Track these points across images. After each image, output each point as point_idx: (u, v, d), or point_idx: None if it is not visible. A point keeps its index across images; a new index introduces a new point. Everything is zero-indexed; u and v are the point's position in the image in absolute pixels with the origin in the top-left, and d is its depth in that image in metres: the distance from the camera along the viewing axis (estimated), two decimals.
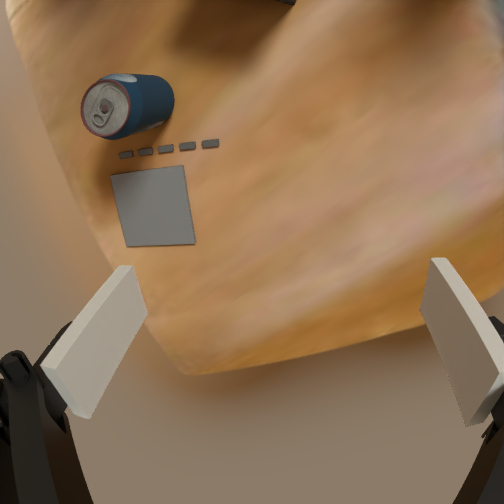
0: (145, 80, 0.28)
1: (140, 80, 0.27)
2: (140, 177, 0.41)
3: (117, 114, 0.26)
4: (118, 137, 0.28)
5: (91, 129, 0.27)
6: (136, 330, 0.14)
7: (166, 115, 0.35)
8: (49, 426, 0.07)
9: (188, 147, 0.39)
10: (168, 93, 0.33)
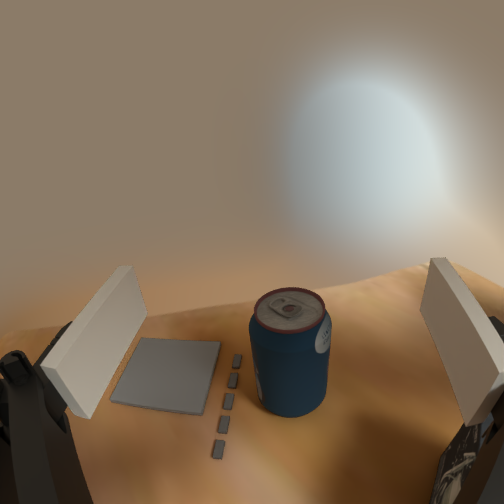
0: (316, 369, 0.25)
1: (316, 359, 0.24)
2: (205, 369, 0.35)
3: (277, 320, 0.25)
4: (250, 323, 0.26)
5: (269, 295, 0.28)
6: (136, 330, 0.14)
7: (268, 402, 0.28)
8: (49, 426, 0.07)
9: (221, 424, 0.28)
10: (295, 405, 0.27)
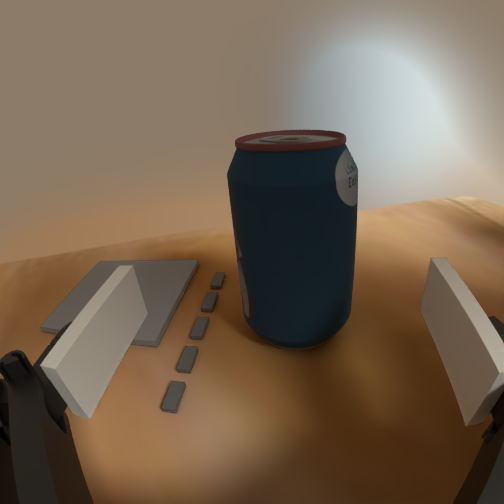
0: (339, 238, 0.15)
1: (339, 214, 0.15)
2: (172, 289, 0.25)
3: None
4: None
5: (260, 137, 0.18)
6: (136, 330, 0.14)
7: (258, 315, 0.18)
8: (49, 426, 0.07)
9: (182, 358, 0.19)
10: (304, 316, 0.17)
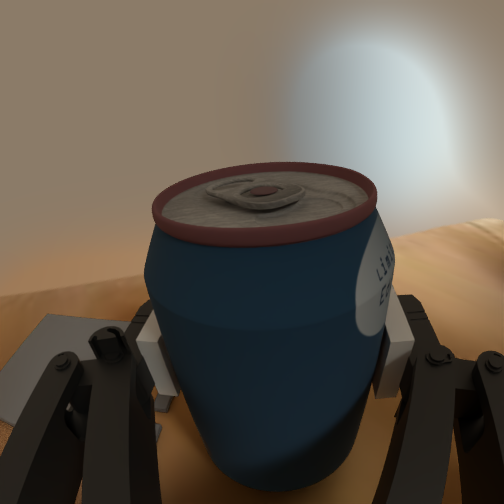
0: (350, 389, 0.08)
1: (355, 358, 0.07)
2: None
3: (219, 216, 0.07)
4: None
5: (213, 178, 0.10)
6: None
7: (217, 459, 0.10)
8: (136, 413, 0.08)
9: None
10: (284, 475, 0.09)
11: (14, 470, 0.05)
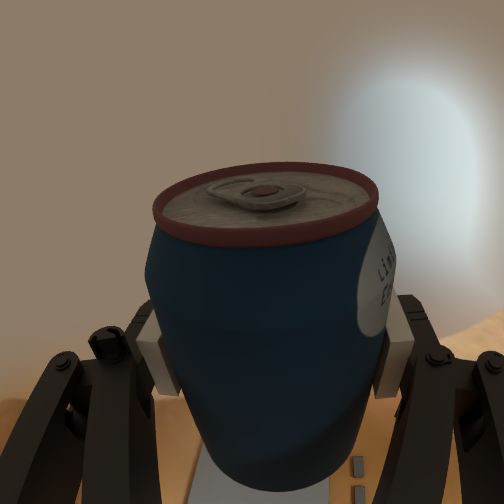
0: (351, 390, 0.08)
1: (356, 359, 0.07)
2: (319, 486, 0.20)
3: (220, 216, 0.07)
4: None
5: (214, 178, 0.10)
6: None
7: (218, 460, 0.10)
8: (136, 413, 0.08)
9: None
10: (285, 475, 0.09)
11: (14, 470, 0.05)
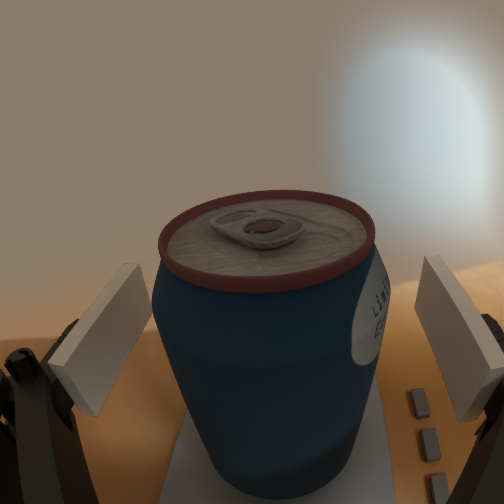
0: (346, 411, 0.08)
1: (351, 385, 0.07)
2: (371, 432, 0.14)
3: (223, 255, 0.08)
4: None
5: (216, 207, 0.11)
6: (142, 328, 0.14)
7: (221, 470, 0.11)
8: (56, 424, 0.07)
9: None
10: (285, 485, 0.09)
11: None
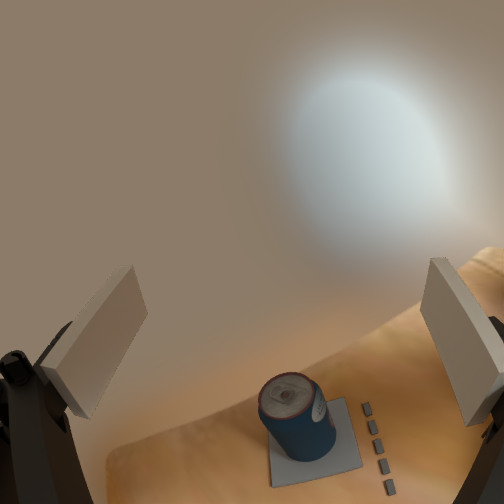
0: (320, 430, 0.29)
1: (317, 425, 0.28)
2: (345, 427, 0.35)
3: (278, 408, 0.29)
4: (259, 411, 0.30)
5: (267, 385, 0.32)
6: (136, 330, 0.14)
7: (291, 456, 0.32)
8: (49, 426, 0.07)
9: (383, 467, 0.28)
10: (313, 454, 0.30)
11: None
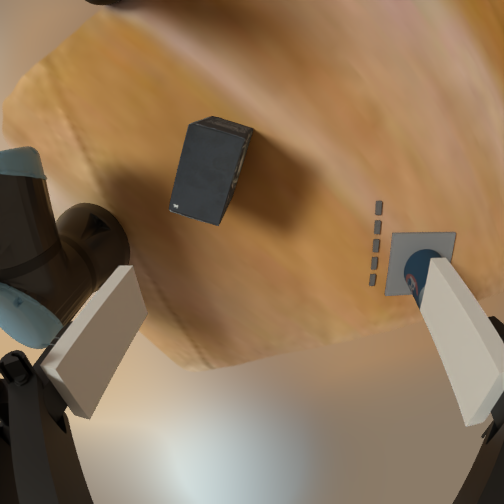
0: None
1: None
2: (393, 270, 0.47)
3: None
4: None
5: None
6: (136, 330, 0.14)
7: (441, 257, 0.42)
8: (49, 426, 0.07)
9: (379, 226, 0.44)
10: (428, 255, 0.42)
11: None
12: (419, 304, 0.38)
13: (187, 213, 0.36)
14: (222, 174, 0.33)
